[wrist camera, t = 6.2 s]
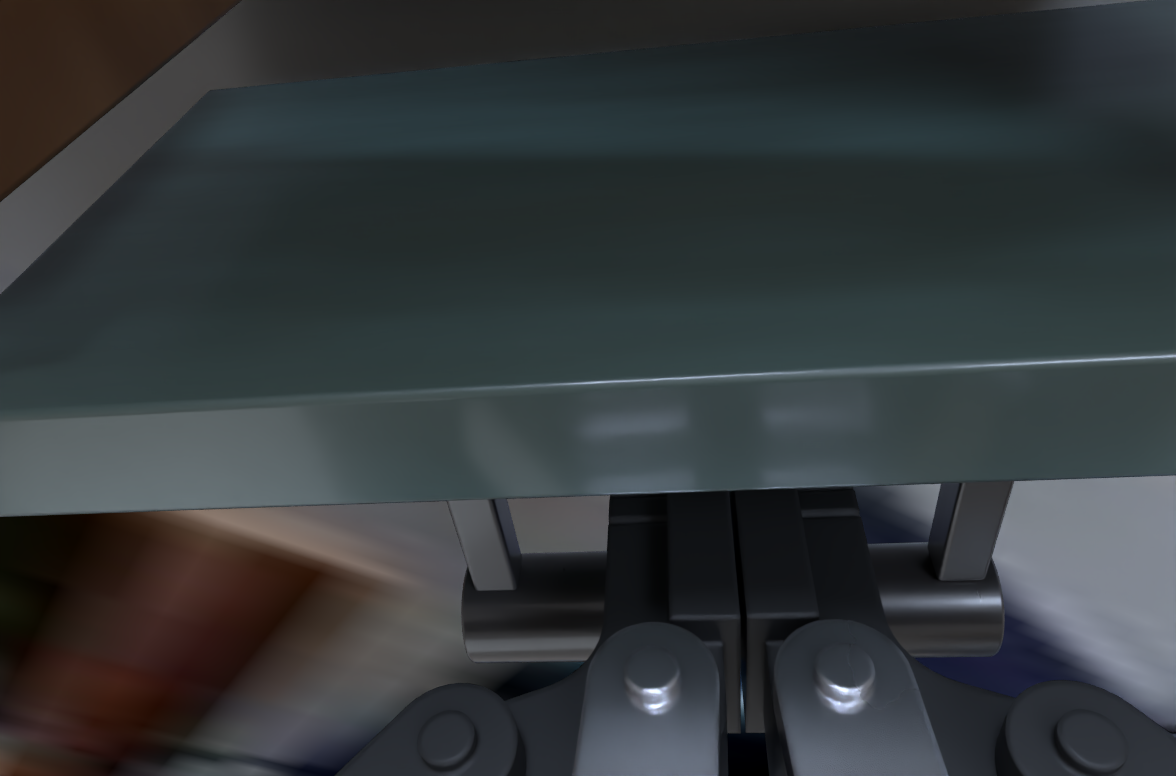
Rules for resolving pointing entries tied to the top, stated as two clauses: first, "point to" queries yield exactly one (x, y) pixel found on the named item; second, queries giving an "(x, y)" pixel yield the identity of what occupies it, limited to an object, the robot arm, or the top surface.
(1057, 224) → the drawer
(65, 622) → the top surface
